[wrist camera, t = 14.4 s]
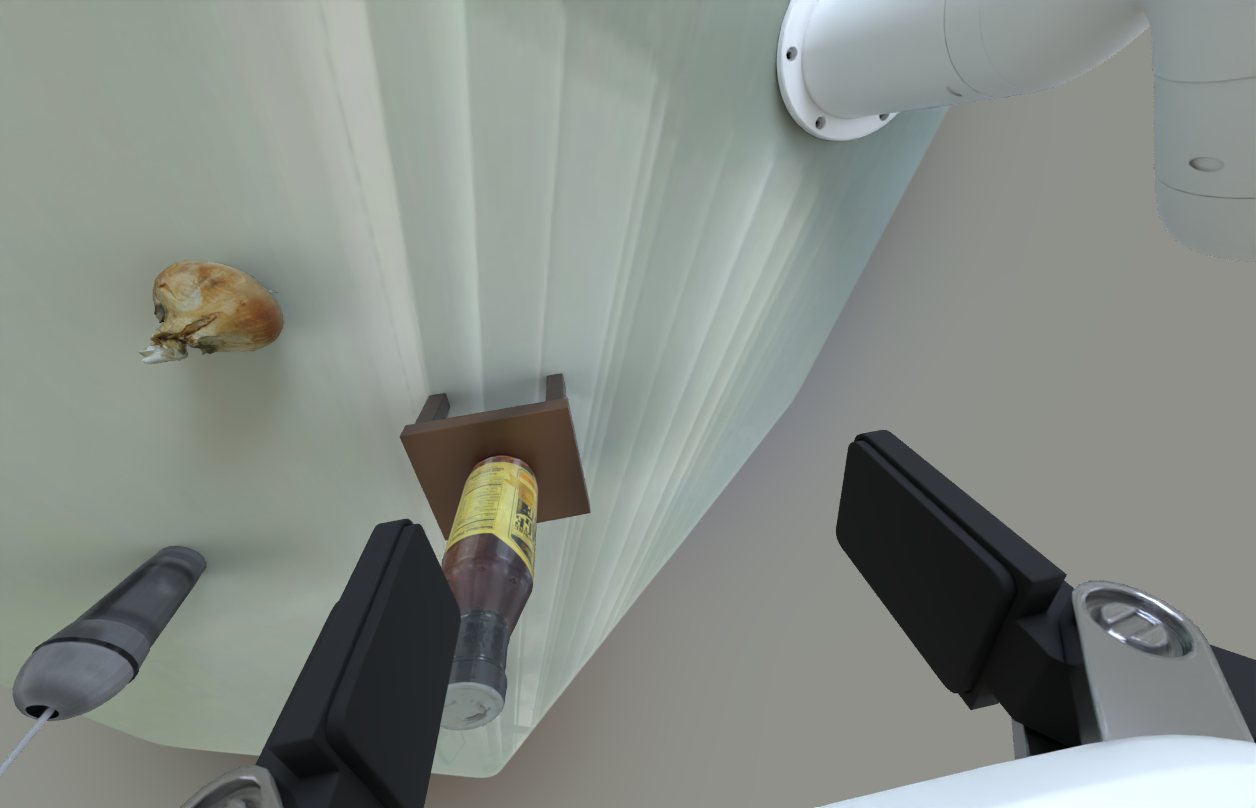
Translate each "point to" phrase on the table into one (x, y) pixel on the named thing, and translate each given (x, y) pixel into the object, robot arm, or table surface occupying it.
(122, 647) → the beverage cup
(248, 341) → the onion
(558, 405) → the plate
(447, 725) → the sauce bottle
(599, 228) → the table surface
